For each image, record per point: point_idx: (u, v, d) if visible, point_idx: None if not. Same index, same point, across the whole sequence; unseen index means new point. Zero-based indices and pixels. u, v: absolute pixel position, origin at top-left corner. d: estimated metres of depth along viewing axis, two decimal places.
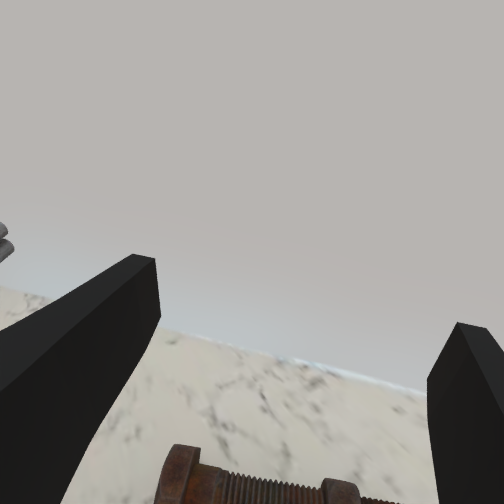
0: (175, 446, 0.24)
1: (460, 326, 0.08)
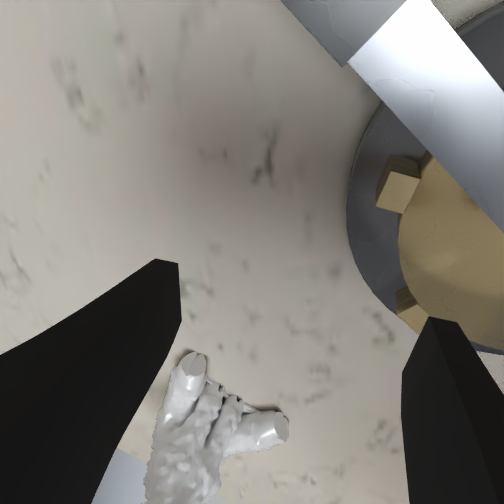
0: None
1: (430, 320, 0.09)
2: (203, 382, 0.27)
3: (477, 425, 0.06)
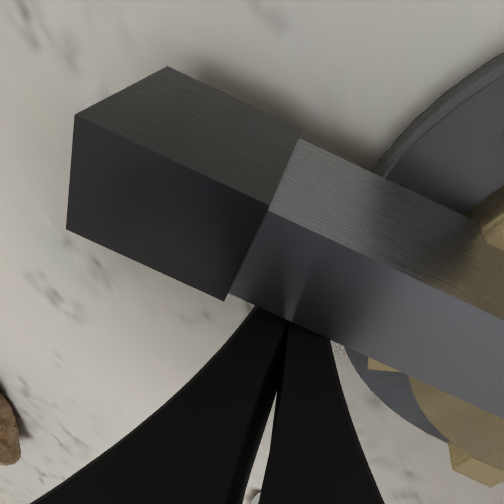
0: None
1: None
2: None
3: (289, 378, 0.07)
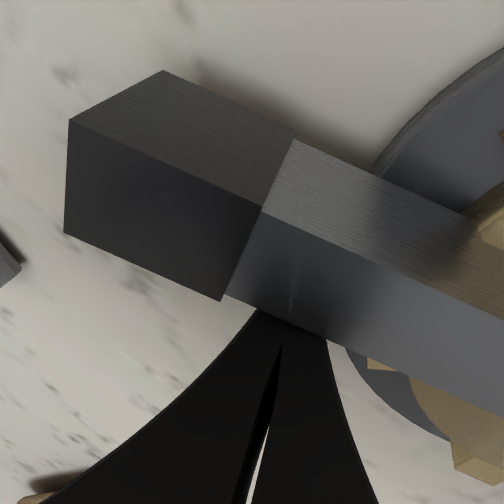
0: None
1: None
2: None
3: (285, 377, 0.07)
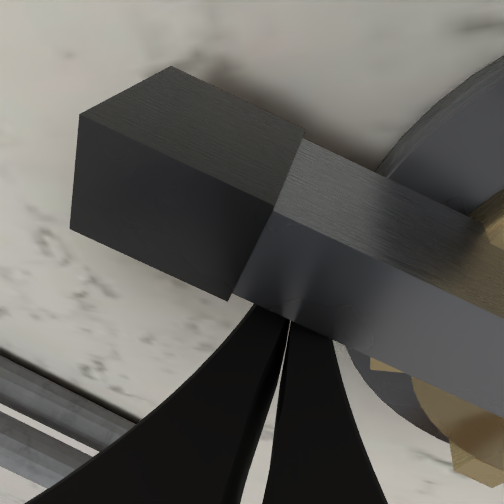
0: None
1: None
2: None
3: (292, 379, 0.07)
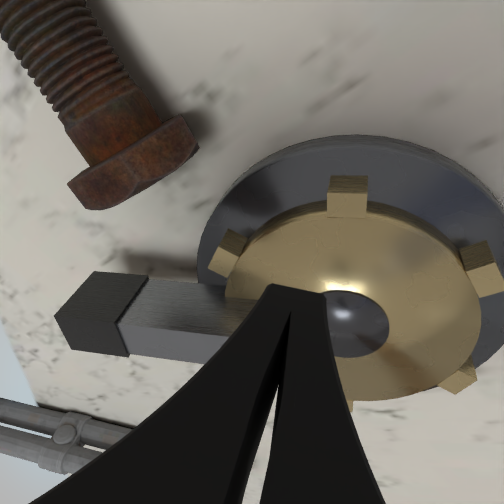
0: (88, 208, 0.16)
1: (296, 292, 0.09)
2: None
3: (290, 379, 0.07)
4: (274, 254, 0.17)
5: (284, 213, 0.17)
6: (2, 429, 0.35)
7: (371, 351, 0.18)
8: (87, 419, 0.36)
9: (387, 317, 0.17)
